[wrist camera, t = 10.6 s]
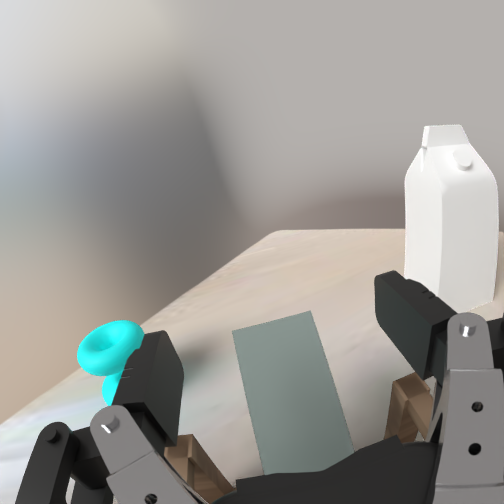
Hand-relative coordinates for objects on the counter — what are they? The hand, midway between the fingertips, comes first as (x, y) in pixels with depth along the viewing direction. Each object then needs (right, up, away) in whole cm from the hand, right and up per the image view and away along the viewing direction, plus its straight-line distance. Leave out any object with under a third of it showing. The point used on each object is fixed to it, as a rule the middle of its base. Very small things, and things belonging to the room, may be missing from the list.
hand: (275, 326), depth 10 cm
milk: (+31, -4, +30) cm, 43 cm away
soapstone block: (+3, -12, +3) cm, 13 cm away
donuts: (-17, -17, +27) cm, 36 cm away
